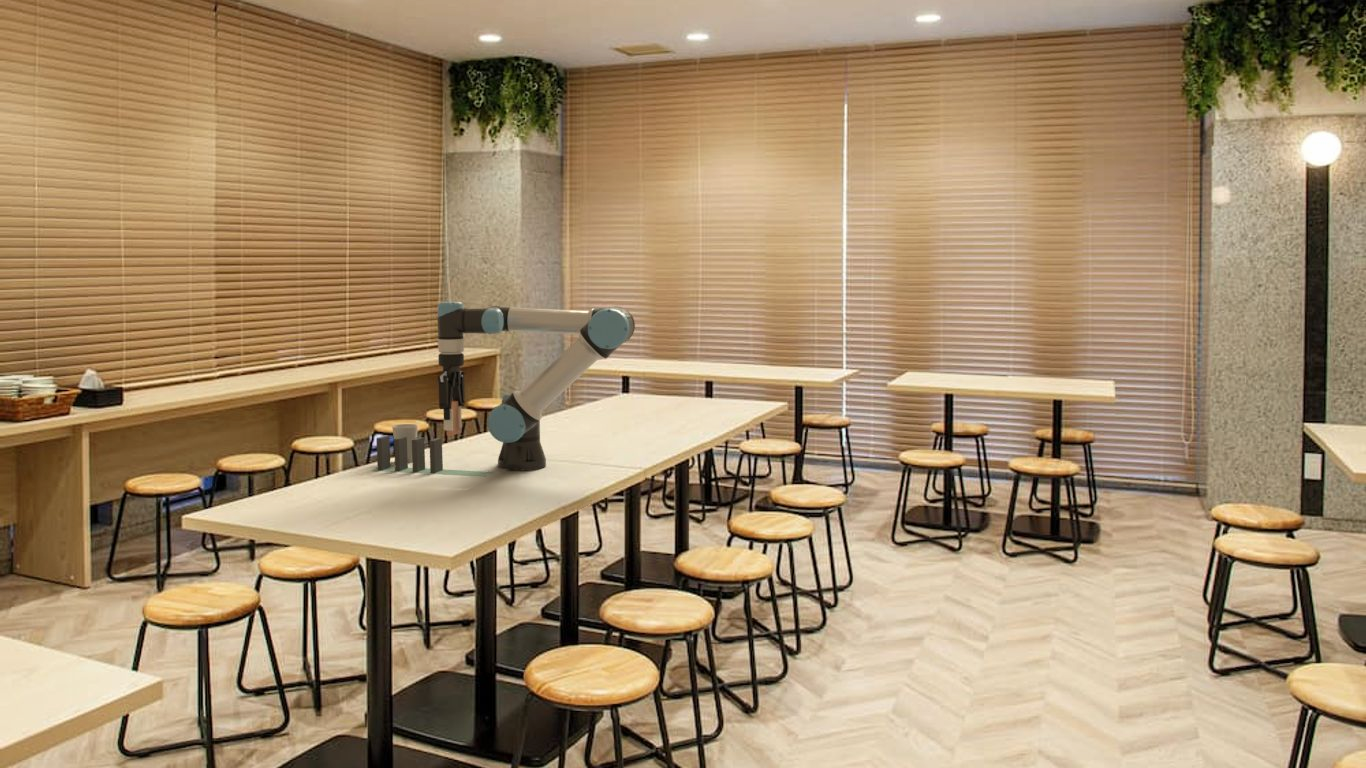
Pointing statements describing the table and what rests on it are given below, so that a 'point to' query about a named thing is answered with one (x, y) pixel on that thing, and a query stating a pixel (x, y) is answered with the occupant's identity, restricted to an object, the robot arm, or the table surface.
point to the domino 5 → (454, 419)
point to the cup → (408, 432)
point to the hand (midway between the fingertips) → (452, 428)
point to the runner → (441, 472)
